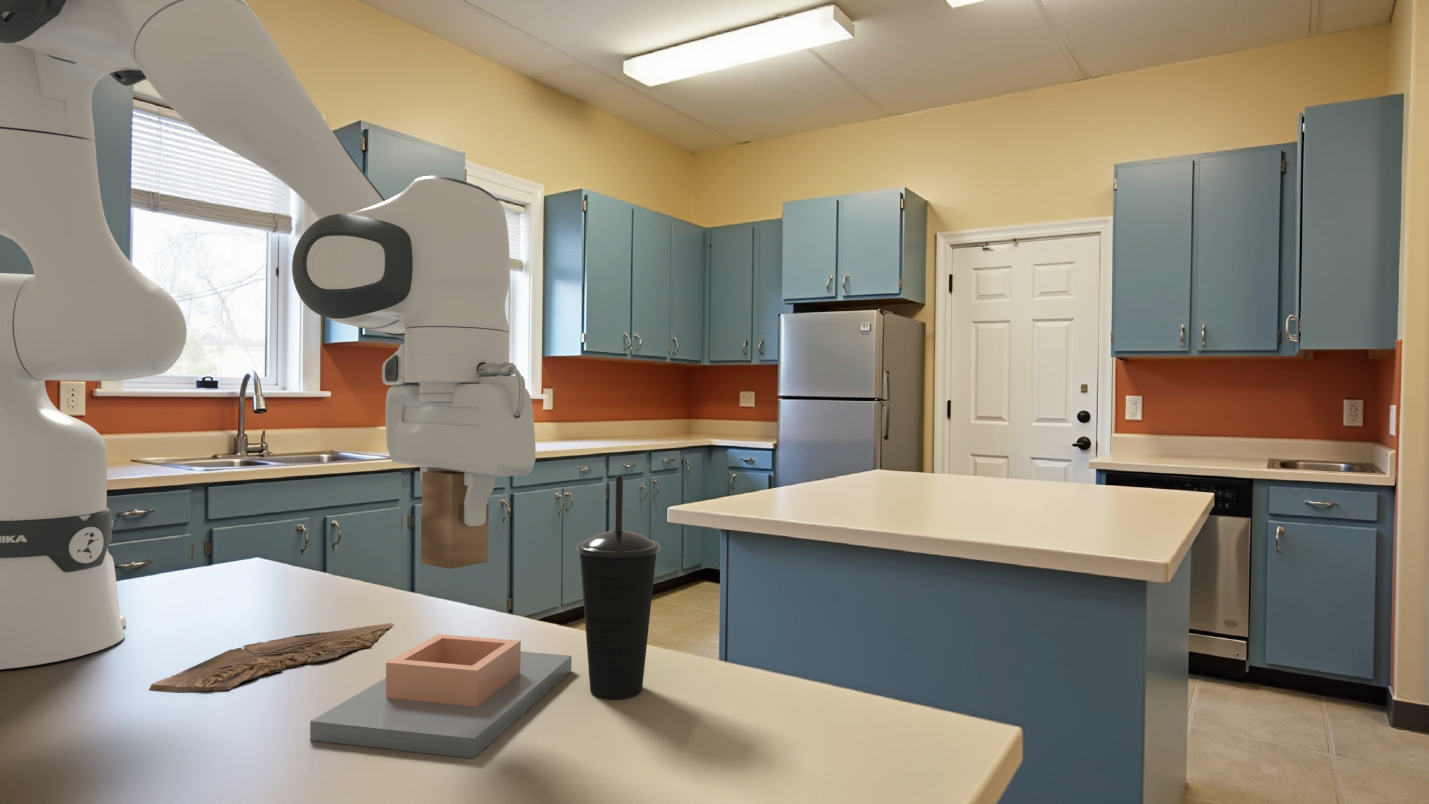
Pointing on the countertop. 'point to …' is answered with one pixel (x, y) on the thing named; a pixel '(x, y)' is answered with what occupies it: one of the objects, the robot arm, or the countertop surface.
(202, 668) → the wooden fragment
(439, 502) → the brown wooden block
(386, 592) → the countertop surface
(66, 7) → the robot arm
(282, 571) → the countertop surface
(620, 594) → the drinking cup
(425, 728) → the stand
